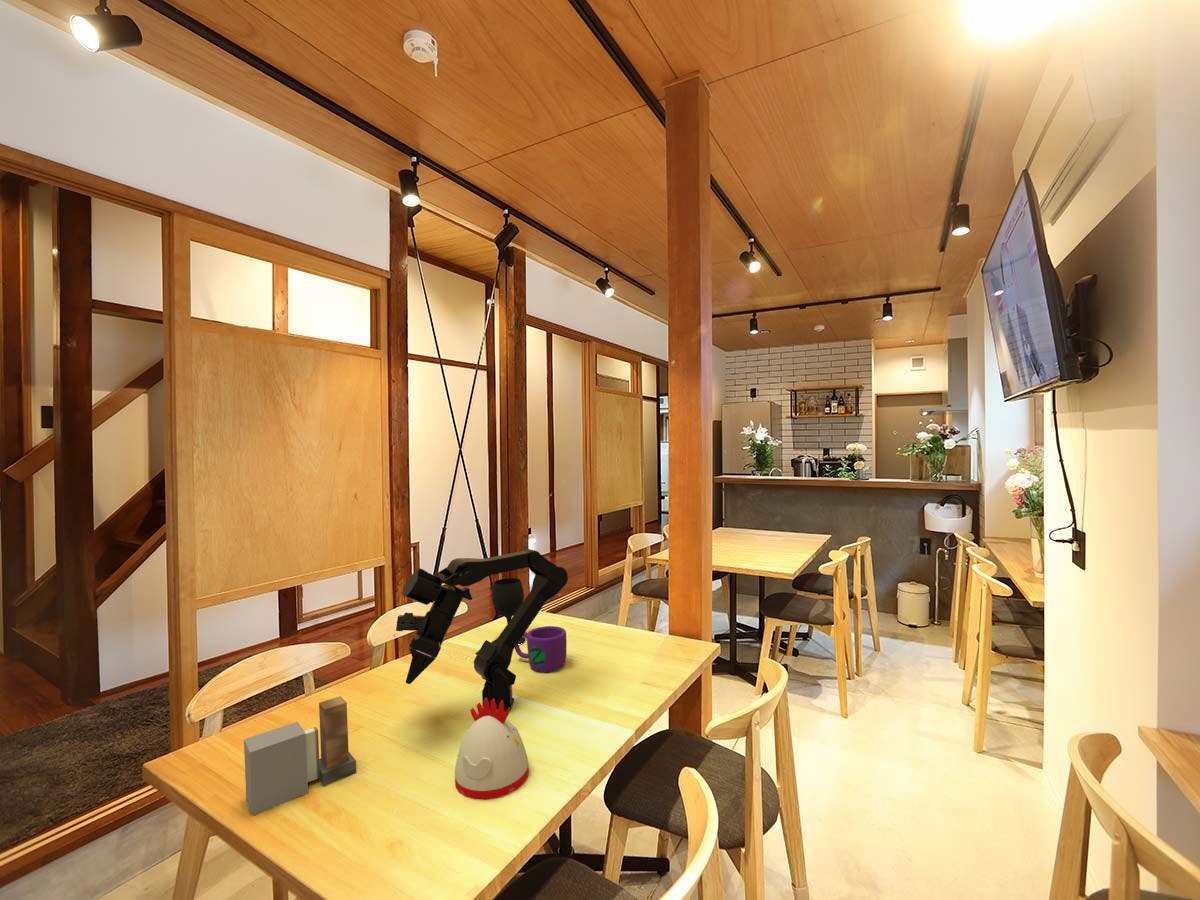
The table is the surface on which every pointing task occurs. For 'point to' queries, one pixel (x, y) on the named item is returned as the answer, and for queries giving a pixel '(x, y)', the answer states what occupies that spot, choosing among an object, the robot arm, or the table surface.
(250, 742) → the pocket wall
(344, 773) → the wooden post on base
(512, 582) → the wine glass
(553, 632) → the mug
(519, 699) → the table surface
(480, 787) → the kitchen timer
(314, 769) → the pocket door
